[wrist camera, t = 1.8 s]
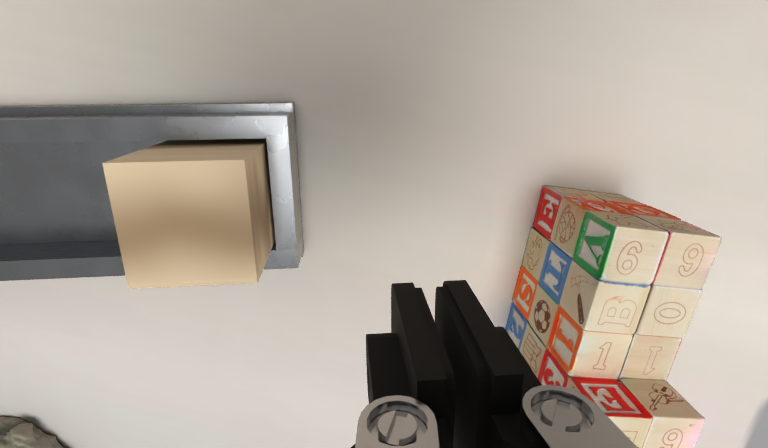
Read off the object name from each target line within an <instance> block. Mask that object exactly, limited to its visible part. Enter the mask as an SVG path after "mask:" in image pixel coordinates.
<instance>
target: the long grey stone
mask: <svg viewBox="0 0 768 448" xmlns="http://www.w3.org/2000/svg"><path fill="white" fill-rule="evenodd" d="M0 448H64V447H62V446H61V445H60V444H59V443H58V441H57V440H56V436H51V435H48V434H46V433H44V432H42V431H41V430H40V429H39V428H37V427H35V426H34V425H33V424H32V423H27V422H26V421H24V420H22V419H20V418H15V417H4V416H2V417H0Z"/></svg>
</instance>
